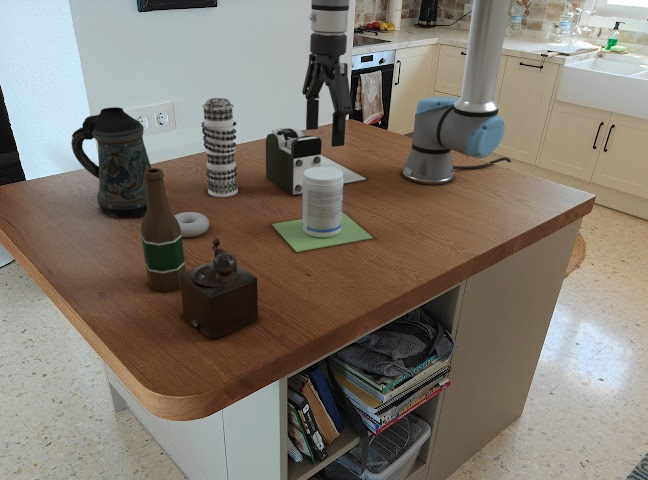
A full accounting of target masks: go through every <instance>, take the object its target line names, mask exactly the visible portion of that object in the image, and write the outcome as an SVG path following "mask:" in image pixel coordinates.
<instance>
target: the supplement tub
mask: <svg viewBox="0 0 648 480" xmlns="http://www.w3.org/2000/svg"><path fill="white" fill-rule="evenodd" d="M343 198H344V184H343V173H342V171H340V170H338V169H336V168H332V167H313V168H309V169H307V170H305V171H304V173H303V194H302V207H301V209H302V218H301V219H303V220H302V225H303V230H304V232H305V233H307V234H308V235H311V236H314V237H320V238H325V237H331V236H334V235H336V234H338V233H339V232H340V231H341V223H342V213H343V202H344V201H343Z"/></svg>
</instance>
